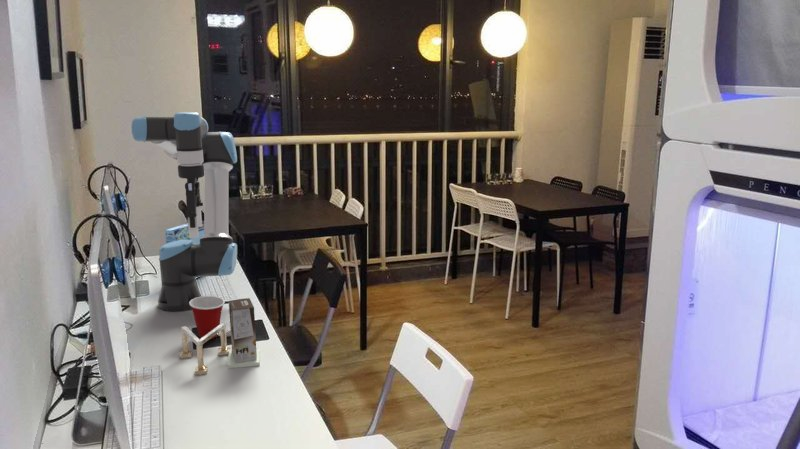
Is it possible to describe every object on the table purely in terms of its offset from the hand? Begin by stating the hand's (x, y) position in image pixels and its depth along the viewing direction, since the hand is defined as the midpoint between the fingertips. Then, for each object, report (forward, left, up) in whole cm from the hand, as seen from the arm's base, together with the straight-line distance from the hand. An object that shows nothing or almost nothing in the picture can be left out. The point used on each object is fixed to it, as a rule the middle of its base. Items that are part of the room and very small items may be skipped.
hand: (195, 232), depth 198 cm
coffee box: (+21, +13, -33) cm, 42 cm away
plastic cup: (+2, +2, -34) cm, 34 cm away
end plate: (+22, +13, -34) cm, 43 cm away
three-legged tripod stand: (+21, +2, -34) cm, 40 cm away
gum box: (-61, -11, -34) cm, 71 cm away
